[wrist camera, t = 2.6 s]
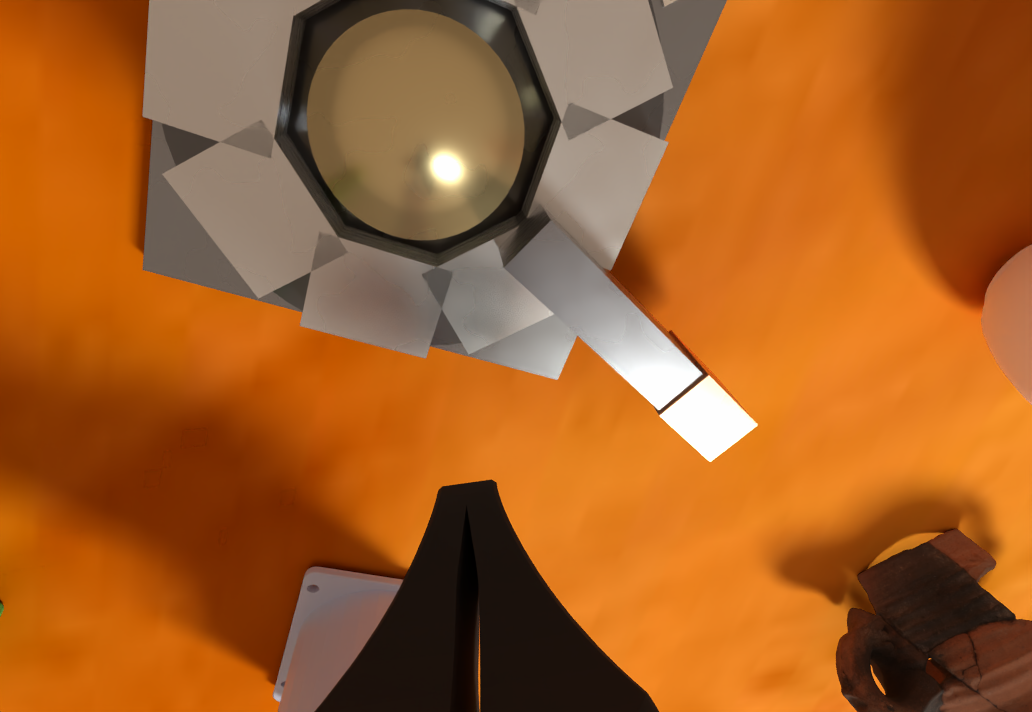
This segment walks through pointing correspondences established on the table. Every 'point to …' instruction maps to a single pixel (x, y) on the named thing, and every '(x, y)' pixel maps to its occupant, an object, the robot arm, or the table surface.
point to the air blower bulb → (1011, 320)
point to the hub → (416, 140)
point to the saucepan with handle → (473, 262)
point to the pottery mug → (935, 636)
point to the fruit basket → (1, 608)
